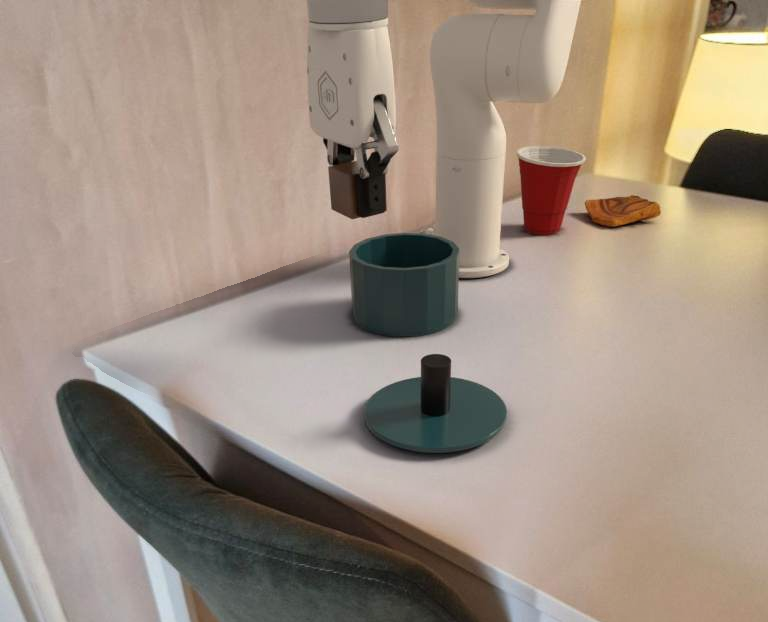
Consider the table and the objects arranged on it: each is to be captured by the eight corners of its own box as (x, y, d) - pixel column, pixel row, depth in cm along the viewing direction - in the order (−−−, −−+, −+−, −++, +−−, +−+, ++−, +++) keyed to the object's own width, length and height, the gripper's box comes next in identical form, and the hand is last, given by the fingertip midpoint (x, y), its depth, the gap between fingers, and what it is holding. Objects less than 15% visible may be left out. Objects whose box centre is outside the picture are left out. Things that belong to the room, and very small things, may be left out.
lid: (339, 411, 81) (334, 353, 77) (449, 373, 87) (450, 318, 83) (417, 475, 71) (417, 413, 67) (535, 427, 77) (542, 368, 73)
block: (331, 209, 83) (327, 166, 80) (365, 201, 85) (363, 159, 82) (352, 219, 80) (349, 175, 77) (387, 211, 82) (385, 167, 79)
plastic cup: (577, 241, 121) (588, 160, 114) (509, 239, 123) (515, 159, 116) (576, 220, 130) (585, 144, 122) (511, 218, 131) (517, 143, 124)
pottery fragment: (665, 203, 126) (613, 199, 122) (656, 232, 128) (605, 229, 125) (631, 189, 133) (582, 186, 130) (623, 217, 136) (575, 214, 133)
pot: (334, 310, 102) (330, 247, 97) (417, 287, 108) (417, 226, 103) (390, 346, 93) (388, 278, 88) (477, 319, 99) (481, 253, 93)
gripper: (271, 5, 75) (292, 197, 86) (360, 18, 64) (371, 237, 75) (336, -2, 78) (348, 184, 89) (433, 9, 67) (433, 221, 78)
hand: (359, 206), depth 82 cm, fingers closed on block, 4 cm apart
